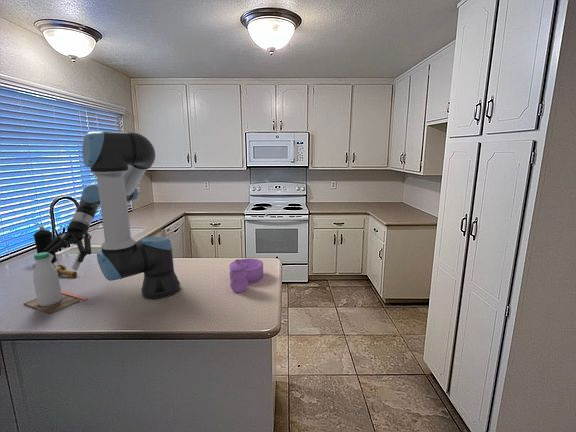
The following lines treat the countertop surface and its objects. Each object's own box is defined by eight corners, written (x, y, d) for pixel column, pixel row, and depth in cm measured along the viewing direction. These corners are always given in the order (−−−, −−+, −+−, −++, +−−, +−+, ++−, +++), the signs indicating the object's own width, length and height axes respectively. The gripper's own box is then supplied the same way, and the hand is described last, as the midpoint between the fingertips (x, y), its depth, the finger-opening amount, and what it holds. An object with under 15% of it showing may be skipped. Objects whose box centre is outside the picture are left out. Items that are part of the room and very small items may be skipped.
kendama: (82, 276, 156) (52, 269, 159) (80, 265, 153) (49, 258, 156) (69, 285, 149) (37, 278, 152) (66, 274, 146) (34, 266, 149)
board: (80, 301, 126) (79, 299, 126) (49, 314, 116) (49, 312, 116) (54, 293, 134) (54, 292, 134) (23, 304, 124) (23, 303, 124)
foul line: (87, 299, 128) (87, 298, 127) (84, 300, 126) (84, 299, 126) (59, 290, 136) (59, 289, 136) (55, 291, 135) (55, 291, 135)
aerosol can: (49, 264, 170) (43, 228, 166) (34, 264, 170) (27, 228, 166) (60, 259, 178) (54, 224, 174) (46, 259, 178) (39, 224, 174)
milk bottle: (66, 300, 126) (57, 252, 122) (43, 308, 119) (33, 258, 115) (57, 296, 130) (48, 249, 126) (34, 303, 123) (24, 255, 119)
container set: (235, 270, 154) (233, 244, 152) (266, 271, 153) (265, 245, 150) (219, 293, 130) (216, 263, 127) (255, 294, 128) (253, 263, 126)
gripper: (111, 228, 142) (92, 273, 131) (60, 228, 145) (37, 272, 133) (101, 220, 136) (81, 265, 124) (48, 220, 138) (23, 264, 127)
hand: (58, 269), depth 129 cm, fingers open, 13 cm apart
